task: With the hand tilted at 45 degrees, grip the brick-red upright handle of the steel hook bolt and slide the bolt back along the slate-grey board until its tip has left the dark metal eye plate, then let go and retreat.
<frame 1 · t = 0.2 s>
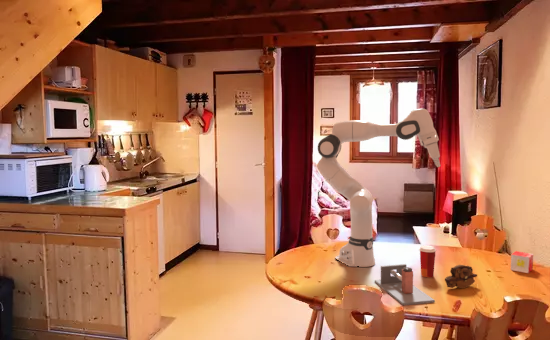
hand: (438, 165, 221), 52 cm above the table, tool tilted 20°, fingers open, 8 cm apart
paper cup: (427, 276, 215), on the table
hook bolt: (399, 274, 198), point 6 cm above the table, slide at 0.0 cm
eye stand: (400, 289, 197), on the table
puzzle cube: (521, 270, 222), on the table
wooden carving: (461, 288, 199), on the table
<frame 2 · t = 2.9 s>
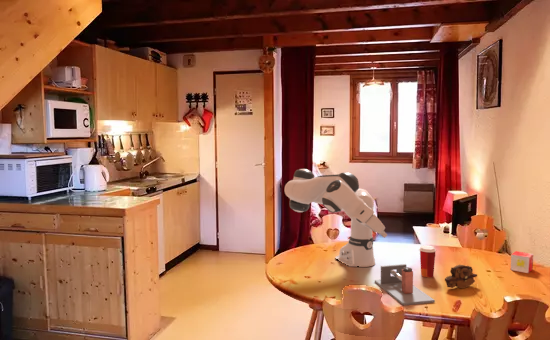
hand: (380, 233, 186), 28 cm above the table, tool tilted 45°, fingers open, 8 cm apart
nothing on the table moved.
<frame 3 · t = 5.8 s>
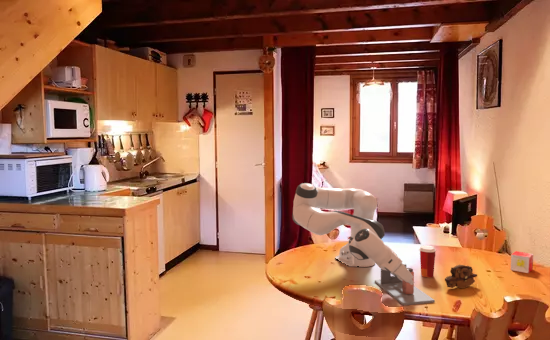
hand: (407, 280, 190), 7 cm above the table, tool tilted 45°, fingers open, 7 cm apart
hook bolt: (399, 275, 197), point 6 cm above the table, slide at 0.7 cm, touching gripper
everything else where it was.
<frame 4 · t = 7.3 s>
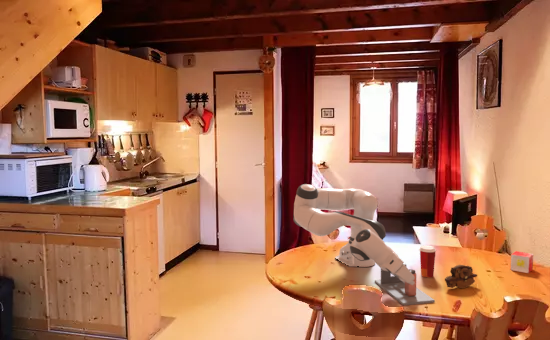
hand: (409, 281, 189), 7 cm above the table, tool tilted 45°, fingers closed on hook bolt, 6 cm apart
hook bolt: (402, 276, 195), point 6 cm above the table, slide at 2.8 cm, touching gripper
everything else where it was.
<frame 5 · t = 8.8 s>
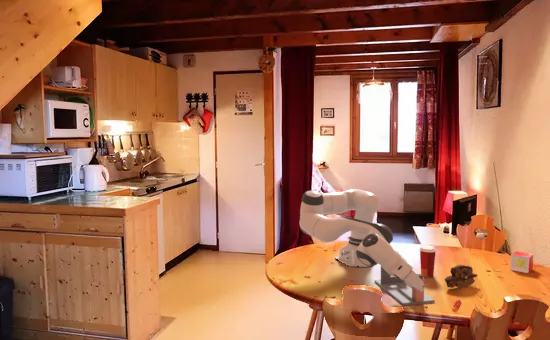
hand: (417, 286, 182), 7 cm above the table, tool tilted 45°, fingers open, 7 cm apart
hook bolt: (409, 281, 189), point 6 cm above the table, slide at 9.1 cm, touching gripper
everything else where it was.
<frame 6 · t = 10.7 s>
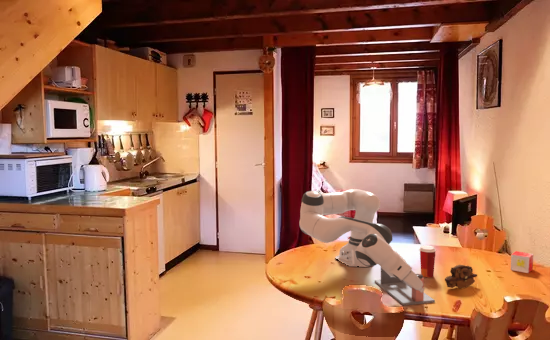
hand: (416, 287, 182), 7 cm above the table, tool tilted 45°, fingers open, 8 cm apart
hook bolt: (408, 281, 190), point 6 cm above the table, slide at 8.8 cm
everything else where it was.
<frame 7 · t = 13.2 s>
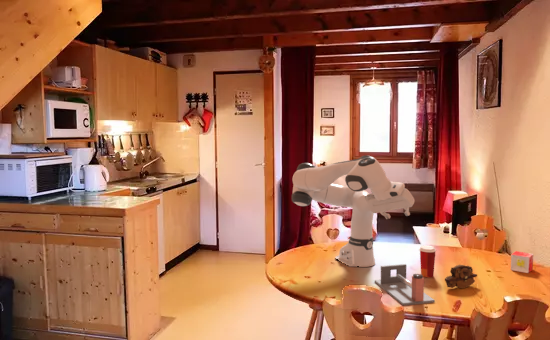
hand: (398, 216, 191), 34 cm above the table, tool tilted 35°, fingers open, 8 cm apart
nothing on the table moved.
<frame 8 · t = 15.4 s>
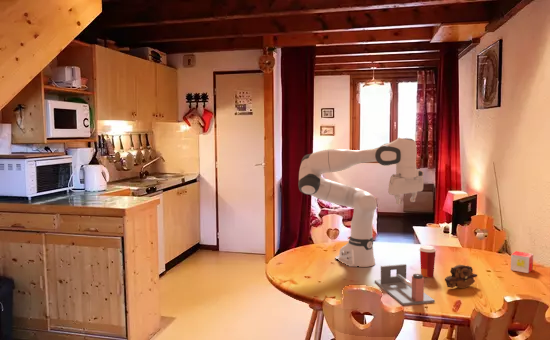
hand: (405, 202, 204), 37 cm above the table, tool pointing down, fingers open, 8 cm apart
nothing on the table moved.
at the end: hook bolt slide at 8.8 cm; the gripper is holding nothing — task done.
